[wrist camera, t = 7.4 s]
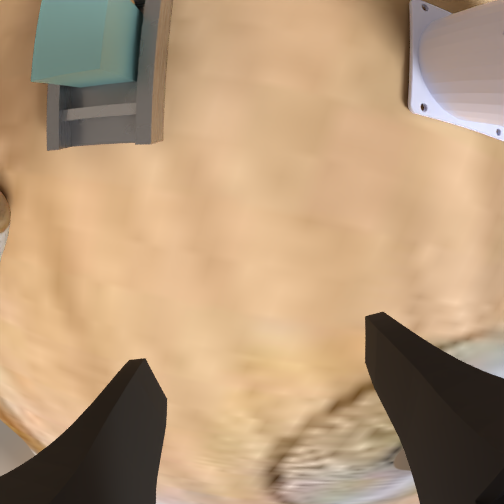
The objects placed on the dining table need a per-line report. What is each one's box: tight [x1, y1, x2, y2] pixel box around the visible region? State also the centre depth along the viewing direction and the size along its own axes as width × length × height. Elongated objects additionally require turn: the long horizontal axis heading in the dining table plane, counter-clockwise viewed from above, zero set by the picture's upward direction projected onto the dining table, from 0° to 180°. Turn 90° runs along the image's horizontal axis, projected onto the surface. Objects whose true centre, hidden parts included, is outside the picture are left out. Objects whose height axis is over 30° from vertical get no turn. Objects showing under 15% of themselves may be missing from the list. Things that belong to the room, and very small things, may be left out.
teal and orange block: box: [31, 0, 143, 88], centre depth 11 cm, size 3×4×5 cm
